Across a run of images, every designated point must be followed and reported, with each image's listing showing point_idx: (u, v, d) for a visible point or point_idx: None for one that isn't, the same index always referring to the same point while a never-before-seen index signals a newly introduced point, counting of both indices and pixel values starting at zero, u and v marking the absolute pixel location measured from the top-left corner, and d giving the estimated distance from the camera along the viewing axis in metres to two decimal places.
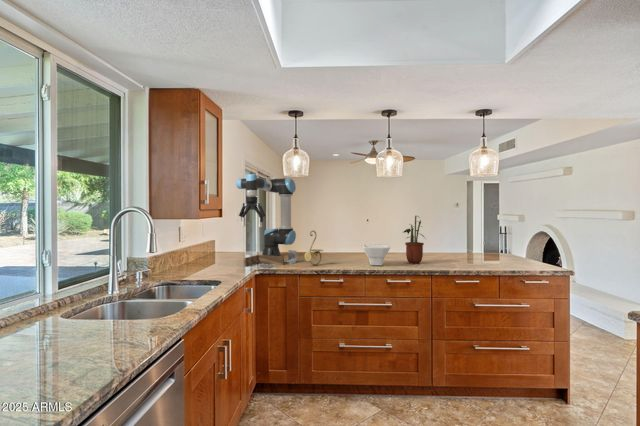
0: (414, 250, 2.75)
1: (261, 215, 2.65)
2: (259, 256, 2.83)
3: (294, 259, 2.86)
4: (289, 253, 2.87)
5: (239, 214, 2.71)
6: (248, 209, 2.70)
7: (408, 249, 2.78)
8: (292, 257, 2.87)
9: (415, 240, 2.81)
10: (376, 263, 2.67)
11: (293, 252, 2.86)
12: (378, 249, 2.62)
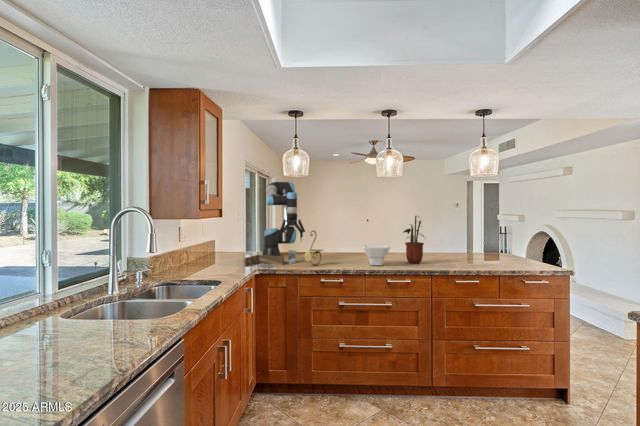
0: (414, 250, 2.75)
1: (301, 231, 2.83)
2: (259, 256, 2.83)
3: (294, 259, 2.86)
4: (289, 253, 2.87)
5: (280, 229, 2.89)
6: (288, 225, 2.88)
7: (408, 249, 2.78)
8: (292, 257, 2.87)
9: (415, 240, 2.81)
10: (376, 263, 2.67)
11: (293, 252, 2.86)
12: (378, 249, 2.62)
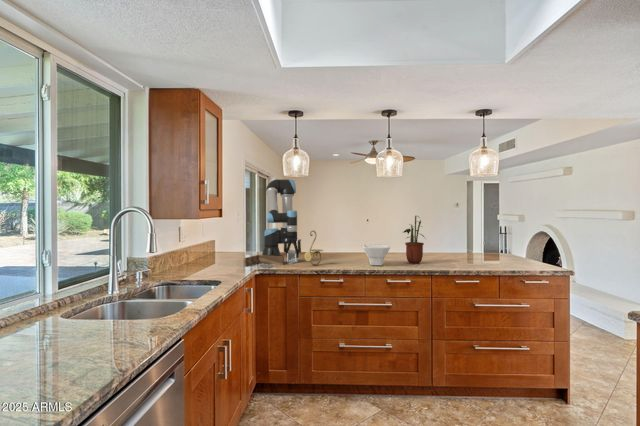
0: (414, 250, 2.75)
1: (297, 252, 2.85)
2: (259, 256, 2.83)
3: (294, 259, 2.86)
4: (289, 253, 2.87)
5: None
6: (290, 243, 2.88)
7: (408, 249, 2.78)
8: (292, 257, 2.87)
9: (415, 240, 2.82)
10: (376, 263, 2.67)
11: (293, 252, 2.86)
12: (378, 249, 2.62)
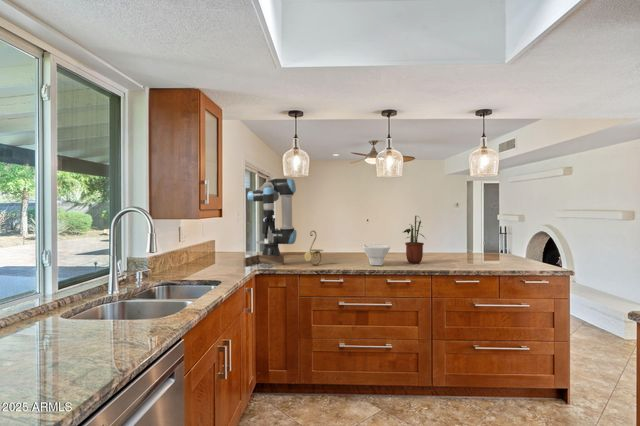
0: (414, 250, 2.75)
1: None
2: (259, 256, 2.83)
3: None
4: None
5: None
6: (270, 223, 2.69)
7: (408, 249, 2.78)
8: None
9: (415, 240, 2.82)
10: (376, 263, 2.67)
11: None
12: (378, 249, 2.62)
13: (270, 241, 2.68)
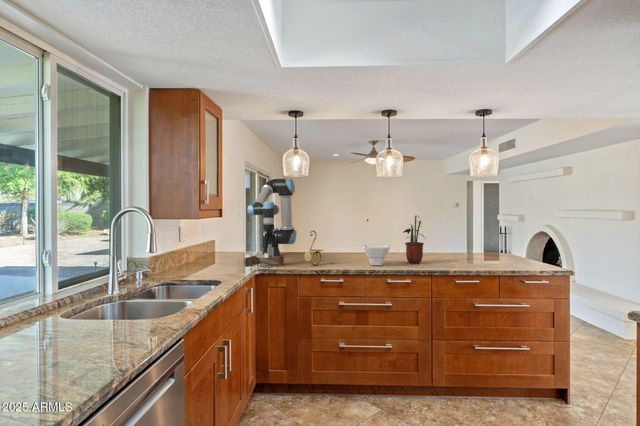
0: (414, 250, 2.75)
1: None
2: None
3: None
4: None
5: None
6: (270, 237, 2.69)
7: (408, 249, 2.78)
8: None
9: (415, 240, 2.81)
10: (376, 263, 2.67)
11: None
12: (378, 249, 2.62)
13: (270, 255, 2.68)
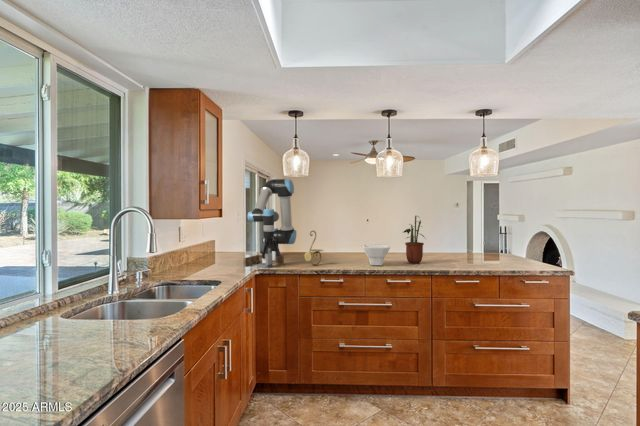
0: (414, 250, 2.75)
1: None
2: (259, 256, 2.83)
3: None
4: None
5: None
6: (270, 243, 2.70)
7: (408, 249, 2.78)
8: None
9: (415, 240, 2.81)
10: (376, 263, 2.67)
11: None
12: (378, 249, 2.62)
13: (270, 264, 2.68)
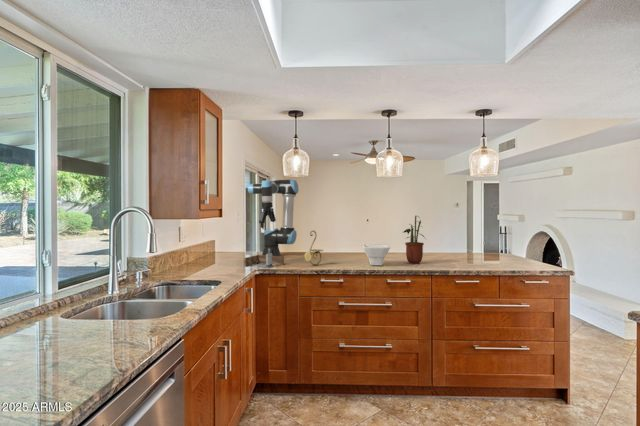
0: (414, 250, 2.75)
1: None
2: (259, 256, 2.83)
3: None
4: None
5: None
6: (269, 214, 2.78)
7: (408, 249, 2.78)
8: None
9: (415, 240, 2.81)
10: (376, 263, 2.67)
11: None
12: (378, 249, 2.62)
13: (270, 264, 2.68)
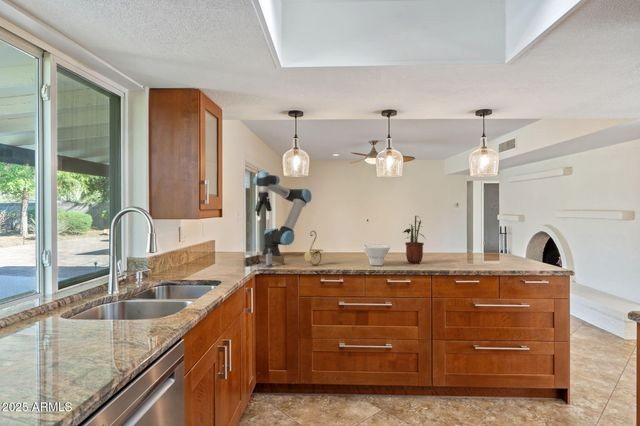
0: (414, 250, 2.75)
1: None
2: (259, 256, 2.83)
3: None
4: None
5: None
6: (265, 204, 2.96)
7: (408, 249, 2.78)
8: None
9: (415, 240, 2.81)
10: (376, 263, 2.67)
11: None
12: (378, 249, 2.62)
13: (270, 264, 2.68)
